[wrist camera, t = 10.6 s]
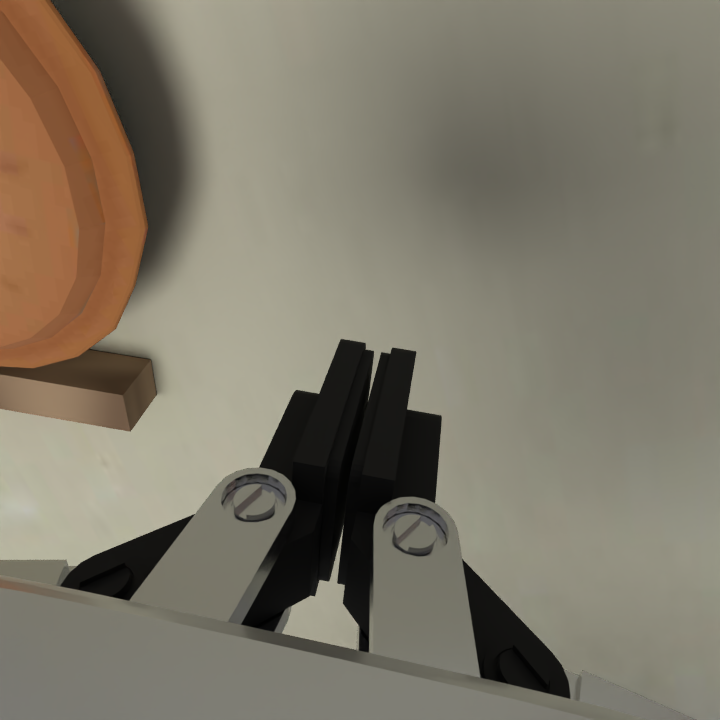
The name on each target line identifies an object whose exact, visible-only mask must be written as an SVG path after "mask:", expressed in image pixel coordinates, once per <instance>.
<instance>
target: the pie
mask: <svg viewBox="0 0 720 720" xmlns="http://www.w3.org/2000/svg"><path fill="white" fill-rule="evenodd" d="M147 231H148V222H147V217H146V212H145V207H144V202H143V197H142V192H141V187H140V181H139V176H138V171H137V166H136V161H135V156H134V152H133V150H132V147H131V145H130V143H129V140H128V138H127V135H126V133H125V130H124V128H123V126H122V123H121V121H120V118H119V116H118V114H117V111H116V109H115V106H114V104H113V102H112V99H111V97H110V94H109V92H108V89H107V87H106V85H105V82H104V80H103V77H102V75H101V73H100V70H99V69H98V68H97V66H96V65H95V63H94V62H93V60H92V59H91V58H90V56H89V55H88V53H87V52H86V51H85V49H84V48H83V46H82V45H81V43H80V42H79V41H78V39H77V38H76V36H75V35H74V33H73V32H72V31H71V29H70V28H69V26H68V25H67V24H66V22H65V21H64V19H63V18H62V16H61V15H60V14H59V12H58V11H57V9H56V8H55V6H54V5H53V4H52V2H51V1H50V0H0V366H3V367H20V368H36V367H40V366H44V365H48V364H52V363H56V362H59V361H63V360H67V359H71V358H75V357H78V356H80V355H81V354H83V353H84V352H85V351H87V350H88V349H89V348H91V347H92V346H93V345H95V344H96V343H97V342H99V341H100V340H101V339H103V338H104V337H105V336H107V335H108V334H110V333H111V332H112V331H114V330H115V329H116V328H117V325H118V323H119V321H120V319H121V316H122V314H123V312H124V310H125V307H126V305H127V303H128V300H129V298H130V296H131V294H132V291H133V289H134V287H135V284H136V280H137V275H138V271H139V266H140V262H141V257H142V253H143V248H144V244H145V240H146V235H147Z"/></svg>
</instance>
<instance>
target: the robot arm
mask: <svg viewBox="0 0 720 720" xmlns="http://www.w3.org/2000/svg"><path fill="white" fill-rule="evenodd" d="M365 349H366V343H362V342H356V341H350V340H344V339H341V340H340V342H339V345H338V348H337V350H336V353H335V355H334V358H333V360H332V363H331V365H330V368H329V370H328V373H327V375H326V378H325V381H324V383H323V386H322V388H321V391H320V393H319V394H317V393H311V392H305V391H300V390H296V391H295V392H294V394H293V395H292V397H291V400H290V402H289V404H288V406H287V408H286V410H285V413H284V415H283V417H282V419H281V421H280V423H279V426H278V428H277V430H276V432H275V434H274V436H273V439H272V441H271V443H270V445H269V447H268V449H267V452H266V454H265V456H264V458H263V460H262V462H261V465H260V467H259V468H247V469H243V470H239V471H236V472H234V473H232V474H230V475H228V476H227V477H225V478H224V479H223V480H222V481H221V482H220V483H219V484H218V485H217V486H216V487H215V489H214V490H213V491H212V493H211V494H210V495H209V497H208V498H207V499H206V501H205V502H204V503H203V504H202V506H201V507H200V508H199V510H198V511H197V512H196V514H194V515H191V516H189V517H187V518H184V519H182V520H179V521H177V522H174V523H172V524H170V525H167V526H165V527H162V528H160V529H157V530H155V531H153V532H150V533H148V534H145V535H143V536H140V537H138V538H136V539H133V540H131V541H128V542H126V543H123V544H121V545H119V546H116V547H114V548H111V549H109V550H106V551H104V552H102V553H99V554H97V555H94V556H93V557H91V558H89V559H87V560H85V561H83V562H81V563H80V564H79V565H78V566H68V563H67V560H0V720H696V719H693V718H691V717H689V716H686V715H684V714H682V713H679V712H677V711H675V710H673V709H670V708H668V707H666V706H663V705H661V704H659V703H657V702H654V701H652V700H650V699H647V698H645V697H643V696H641V695H638V694H636V693H634V692H631V691H629V690H627V689H625V688H622V687H620V686H618V685H615V684H613V683H611V682H609V681H606V680H604V679H602V678H599V677H597V676H595V675H592V674H590V673H588V672H586V671H583V670H582V672H581V674H580V675H579V676H578V675H576V674H574V673H572V672H569V671H567V670H565V669H563V667H562V665H561V664H560V662H559V661H558V660H557V658H556V657H555V656H554V655H553V653H552V652H551V651H550V650H549V649H548V648H547V647H546V646H545V645H544V644H543V643H542V642H541V640H540V639H539V638H538V637H537V636H536V635H535V634H534V633H533V632H532V631H531V630H530V629H529V628H528V627H527V626H526V625H525V624H524V623H523V622H522V621H521V620H520V619H519V618H518V617H517V616H516V614H515V613H514V612H513V611H512V610H511V609H510V608H509V607H508V606H507V605H506V604H505V603H504V602H503V601H502V600H501V599H500V598H499V597H498V596H497V595H496V594H495V593H494V592H493V591H492V590H491V588H490V587H489V586H488V585H487V584H486V583H485V582H484V581H483V580H482V579H481V578H480V577H479V576H478V575H477V574H476V573H475V572H474V571H473V570H472V569H471V568H470V567H469V566H468V565H467V563H466V562H465V561H464V560H463V559H462V555H461V549H460V543H459V536H458V531H457V528H456V525H455V522H454V520H453V519H452V518H451V516H450V515H449V514H448V512H447V511H445V510H444V509H443V508H441V507H440V506H439V505H437V504H435V497H436V484H437V472H438V459H439V446H440V434H441V420H442V417H441V415H435V414H429V413H424V412H418V411H412V410H407V405H408V399H409V393H410V387H411V381H412V375H413V369H414V363H415V357H416V351H410V350H404V349H398V348H392V350H391V354H388V353H381V356H380V359H379V363H378V367H377V371H376V374H375V378H374V382H373V386H372V390H371V393H370V397H369V390H370V382H371V374H372V366H373V358H374V351H371V350H365ZM368 398H369V401H368ZM343 525H344V527H343ZM342 529H343V536H342V545H341V554H340V563H339V572H338V582H337V583H338V584H343V585H345V590H344V598H343V604H344V605H345V607H346V608H347V610H348V611H349V612H350V614H351V615H352V617H353V618H354V619H355V621H356V622H357V623H358V630H357V645H356V650H354V649H349V648H345V647H340V646H336V645H331V644H326V643H322V642H317V641H313V640H308V639H304V638H299V637H294V636H290V635H285V634H282V632H283V630H284V627H285V625H286V623H287V621H288V619H289V615H290V612H291V606H292V605H294V604H296V603H298V602H300V601H301V600H303V599H305V598H307V597H309V596H310V595H311V596H315V594H316V591H317V587H318V583H319V580H324V581H329V580H330V577H331V573H332V569H333V565H334V561H335V557H336V553H337V549H338V545H339V541H340V537H341V533H342Z"/></svg>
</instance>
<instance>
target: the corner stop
mask: <svg viewBox="0 0 720 720" xmlns="http://www.w3.org/2000/svg"><path fill="white" fill-rule="evenodd" d="M156 395H157V394H156V388H155V382H154V376H153V370H152V364H151V360H149V359H143V358H137V357H131V356H125V355H119V354H112V353H106V352H100V351H94V350H87V351H85V352H84V353H83V354H81V355H80V356H78V357H75V358H71V359H67V360H63V361H59V362H56V363H52V364H48V365H44V366H40V367H36V368H20V367H3V366H0V409H5V410H11V411H17V412H22V413H28V414H34V415H39V416H45V417H51V418H56V419H62V420H68V421H73V422H79V423H85V424H91V425H96V426H102V427H108V428H113V429H119V430H125V431H131V430H132V429H133V427H134V426H135V424H136V423H137V422H138V420H139V419H140V417H141V416H142V415H143V413H144V412H145V410H146V409H147V408H148V406H149V405H150V403H151V402H152V401H153V399H154V398H155V396H156Z"/></svg>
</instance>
